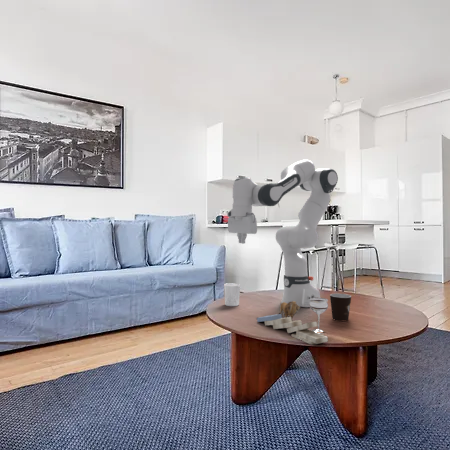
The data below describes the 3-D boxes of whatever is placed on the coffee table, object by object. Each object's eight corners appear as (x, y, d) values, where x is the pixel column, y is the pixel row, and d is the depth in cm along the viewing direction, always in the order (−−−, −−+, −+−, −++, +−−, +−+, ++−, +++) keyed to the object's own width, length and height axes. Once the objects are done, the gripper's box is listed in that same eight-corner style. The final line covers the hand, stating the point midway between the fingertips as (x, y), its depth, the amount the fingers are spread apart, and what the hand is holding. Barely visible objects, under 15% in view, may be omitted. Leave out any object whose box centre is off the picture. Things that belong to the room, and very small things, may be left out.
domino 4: (295, 327, 130) (316, 321, 123) (296, 331, 130) (317, 326, 123) (286, 328, 127) (307, 322, 120) (287, 333, 126) (309, 327, 119)
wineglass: (324, 328, 134) (324, 297, 134) (330, 334, 127) (330, 301, 127) (307, 328, 133) (307, 297, 133) (312, 334, 127) (312, 301, 127)
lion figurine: (301, 324, 139) (301, 301, 139) (289, 325, 137) (290, 302, 137) (283, 315, 153) (283, 294, 153) (272, 316, 151) (272, 295, 151)
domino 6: (307, 328, 125) (327, 336, 117) (307, 333, 125) (327, 341, 117) (296, 330, 123) (316, 339, 114) (296, 335, 123) (316, 344, 114)
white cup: (238, 307, 167) (238, 286, 167) (222, 306, 168) (222, 285, 168) (241, 303, 175) (241, 283, 175) (225, 302, 176) (225, 282, 176)
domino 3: (281, 322, 136) (301, 320, 129) (282, 326, 136) (302, 324, 128) (272, 324, 133) (292, 322, 126) (273, 329, 132) (293, 326, 125)
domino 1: (266, 315, 145) (281, 313, 136) (267, 319, 144) (282, 318, 136) (256, 317, 142) (271, 316, 134) (257, 321, 142) (272, 320, 134)
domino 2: (273, 319, 140) (291, 316, 132) (274, 323, 140) (292, 321, 132) (264, 321, 137) (281, 319, 129) (265, 325, 137) (282, 323, 129)
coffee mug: (340, 323, 141) (340, 298, 141) (325, 317, 149) (325, 294, 149) (360, 319, 147) (360, 295, 147) (345, 314, 154) (345, 292, 154)
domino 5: (302, 332, 127) (322, 340, 118) (302, 336, 127) (322, 344, 118) (291, 334, 124) (311, 342, 115) (291, 338, 124) (311, 347, 115)
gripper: (260, 212, 150) (260, 244, 150) (237, 213, 168) (236, 242, 168) (248, 212, 147) (248, 244, 147) (225, 213, 165) (225, 242, 165)
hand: (241, 243), depth 158 cm, fingers closed
